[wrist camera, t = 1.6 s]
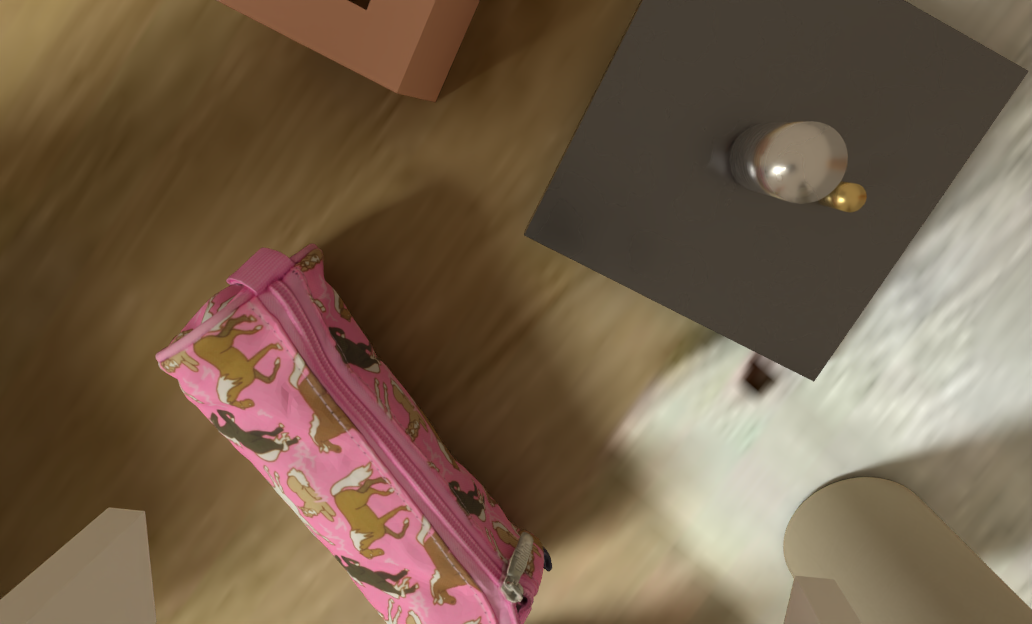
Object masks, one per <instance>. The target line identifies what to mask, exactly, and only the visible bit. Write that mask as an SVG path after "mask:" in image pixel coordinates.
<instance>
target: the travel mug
mask: <svg viewBox="0 0 1032 624" xmlns="http://www.w3.org/2000/svg"><path fill="white" fill-rule="evenodd" d="M783 549H784V557H785V561H786V564H787V566H788V568H789V570H790V572H791V574H792V576H793V578H794V577H795V576H805V577H815V578H825V579H834V580H835V581H836V583H837V585H838V586H839V588H840V589H841V591H842V593H843V594H844V596H845V598H846V599H847V601H848V602H849V604H850V606H851V607H852V609H853V610H854V612H855V614H856V615H857V617H858V618H859V620H860V622H861V623H862V624H1032V609H1031V608H1030V607H1029V606H1028V605H1027V604H1026V603H1025V602H1024V601H1023V600H1022V599H1021V598H1019V597H1018V596H1017V595H1016V594H1015V593H1014V592H1013V591H1012V590H1011V589H1010V588H1009V587H1008V586H1007V585H1006V584H1005V583H1004V582H1003V581H1002V580H1001V579H1000V578H999V577H998V576H997V575H996V574H995V573H994V572H993V571H992V570H991V569H990V568H989V567H988V566H987V565H986V564H985V563H984V562H983V561H982V560H981V559H980V558H979V557H978V556H977V555H976V554H975V553H974V552H973V551H972V550H971V549H970V548H969V547H968V546H967V545H966V544H965V543H964V542H963V541H962V540H961V539H960V538H959V537H958V536H957V535H956V534H955V533H954V532H953V531H952V530H951V529H950V528H949V527H948V526H947V525H946V524H945V523H944V522H943V521H942V520H941V519H940V518H939V517H938V516H937V515H936V514H935V513H934V512H933V511H932V510H931V509H930V508H929V507H928V506H927V505H926V504H925V503H924V502H923V501H922V500H921V499H920V498H919V497H918V496H917V495H916V494H915V493H913V492H912V491H911V490H909V489H908V488H906V487H904V486H903V485H901V484H898V483H896V482H893V481H890V480H887V479H882V478H875V477H858V478H851V479H846V480H842V481H839V482H835V483H833V484H830V485H828V486H826V487H824V488H822V489H820V490H819V491H817V492H815V493H814V494H813V495H811V496H810V497H809V498H808V499H806V500H805V501H804V502H803V503H802V504H801V505H800V506H799V508H798V509H797V510H796V511H795V513H794V514H793V516H792V518H791V519H790V521H789V523H788V526H787V528H786V532H785V536H784V544H783Z"/></svg>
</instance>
